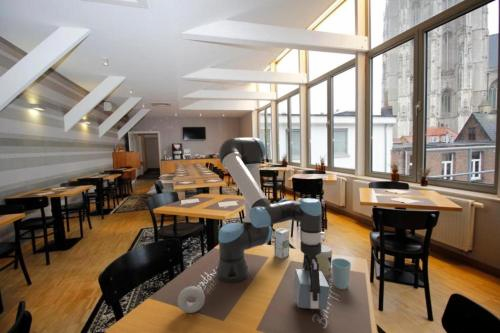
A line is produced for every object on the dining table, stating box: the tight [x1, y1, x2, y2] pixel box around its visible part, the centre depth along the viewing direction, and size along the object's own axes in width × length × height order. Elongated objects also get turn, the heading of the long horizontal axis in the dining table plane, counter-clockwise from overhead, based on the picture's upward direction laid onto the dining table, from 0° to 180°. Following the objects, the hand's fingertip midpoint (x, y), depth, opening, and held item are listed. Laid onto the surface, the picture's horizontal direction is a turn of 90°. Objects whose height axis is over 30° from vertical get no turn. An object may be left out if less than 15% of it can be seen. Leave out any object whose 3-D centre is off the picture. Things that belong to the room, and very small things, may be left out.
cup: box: [331, 257, 352, 290], centre depth 104 cm, size 8×8×10 cm
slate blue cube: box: [292, 268, 330, 311], centre depth 91 cm, size 10×10×9 cm
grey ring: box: [176, 285, 206, 314], centre depth 90 cm, size 10×4×10 cm, turn 100°
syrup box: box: [274, 227, 290, 260], centre depth 132 cm, size 6×6×14 cm
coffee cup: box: [316, 243, 333, 277], centre depth 115 cm, size 9×9×12 cm
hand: (310, 297), depth 91 cm, fingers closed on slate blue cube, 10 cm apart
